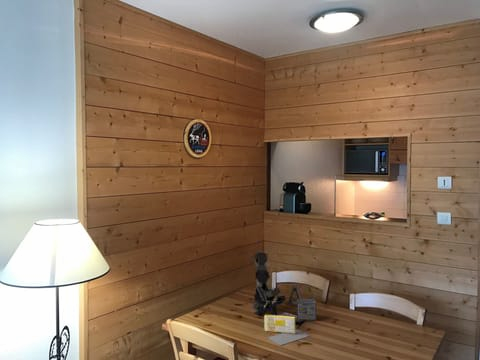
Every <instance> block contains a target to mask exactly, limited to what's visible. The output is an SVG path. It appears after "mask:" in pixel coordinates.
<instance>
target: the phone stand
mask: <svg viewBox="0 0 480 360" xmlns="http://www.w3.org/2000/svg"><path fill="white" fill-rule="evenodd" d="M291 288H292V290H291V293H290V296H289V299H288V301H287V305H289V306H290V305H291V306H292V305H293V306H297V299H303V297H302V294H301V292H300V289H299V288H300V287H299V284H298V283H294V284H293V285H292V287H291ZM294 295H295V296H296V301H295V300H293V299H294Z"/></svg>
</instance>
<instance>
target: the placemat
mask: <svg viewBox="0 0 480 360" xmlns="http://www.w3.org/2000/svg"><path fill="white" fill-rule="evenodd" d="M309 337H310V335H308V334H307V333H305V332H303V331H301V330H299V329H297V328H295V334H291V333H281V332H280V333H278V334H275V335H271V336H268V337H267V339H268V340H270V341H271V342H273V343H275V344H276V345H278V346H280V347H281V346H285V345H287V344H291V343H293V342H297V341H299V340H304V339H307V338H309Z"/></svg>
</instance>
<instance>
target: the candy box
mask: <svg viewBox="0 0 480 360" xmlns="http://www.w3.org/2000/svg"><path fill="white" fill-rule="evenodd" d="M263 316H264V318H263V319H264V320H263V321H264V331H265V332H272V333H273V332H274V333H280V334H281V333H291V334H295V329H296V317H295V316H287V315H278V314H277V315H272V314H267V315H266V314H265V315H263Z"/></svg>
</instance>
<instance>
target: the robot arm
mask: <svg viewBox="0 0 480 360" xmlns="http://www.w3.org/2000/svg"><path fill="white" fill-rule="evenodd" d="M268 255H269V254H268V253H266V252H264V251H258V252H257V253H254V256H253V257H254V259H253V260H254V261H255V262H254V263H255V266H256V268H255V271H254V279H255V280H256V283H255V286H256V288H255V293H254V294H253V295H254V296H253V297H254V301H253V302H254V303H253V306H252V307H253V310H254V312H253V314H256V315H257V316H259V317H262V316H264V315H265V314H266V315H277V316H278V309H277V305H282V304H283V303H284V302H285V301H286V300H287V298H286V296H285V295H284V294H281V295H280V293H281V289H280V288H279V287H278V286H277V287H274V289H271V288H269V286H268V282H269V281H268V280H269V279H270V278H271V275H270V272H269V271H268V267H267V262H268V260H269V258H268Z"/></svg>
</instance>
